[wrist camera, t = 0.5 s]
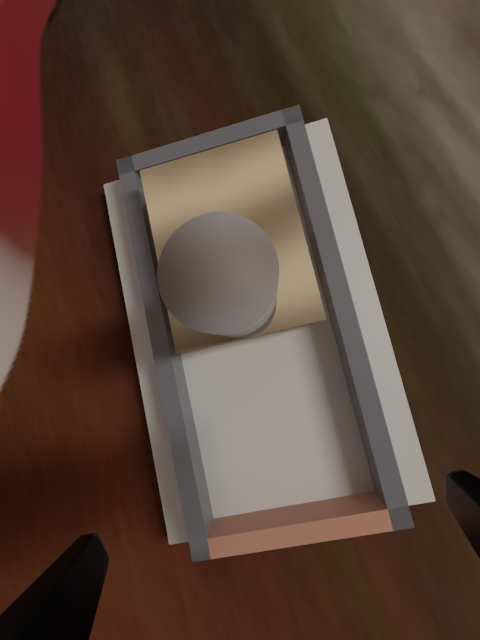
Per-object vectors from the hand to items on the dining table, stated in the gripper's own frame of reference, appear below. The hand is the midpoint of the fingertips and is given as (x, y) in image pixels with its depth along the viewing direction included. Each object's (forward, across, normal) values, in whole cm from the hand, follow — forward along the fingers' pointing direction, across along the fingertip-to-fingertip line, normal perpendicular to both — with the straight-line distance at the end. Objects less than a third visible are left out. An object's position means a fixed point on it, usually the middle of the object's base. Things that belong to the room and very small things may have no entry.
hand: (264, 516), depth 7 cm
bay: (+15, 0, -1) cm, 15 cm away
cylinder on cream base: (+15, 0, -6) cm, 16 cm away
